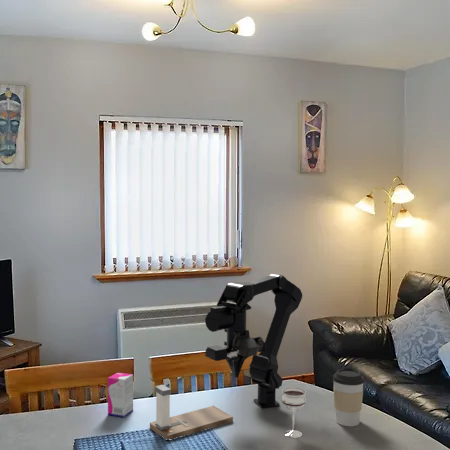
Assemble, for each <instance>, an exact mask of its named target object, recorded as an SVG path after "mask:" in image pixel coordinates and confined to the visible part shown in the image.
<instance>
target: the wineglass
mask: <svg viewBox="0 0 450 450" xmlns="http://www.w3.org/2000/svg"><path fill="white" fill-rule="evenodd" d="M281 392H282V395H281V402H282V404H283V406H284V407H285V408H286V409H287V410H289V411H290V412H291V413H292V414H291V417H292V418H291V419H292V421H291V423H292V429H287V430H285V431H284V433H283V434H284V436H286V437H288V438H293V439H295V438H296V439H297V438H301V437H302V435H303V433H302V432H301V431H300V430H297V429H295V421H296V420H295V418H296V417H295V416H296V412H297V411H300V410H301V409H302V408H303V407H304V406H306V403H307V398H306V393H307V391H306V390H305V389H303V388H299V387H285V388H283V389H282V390H281Z"/></svg>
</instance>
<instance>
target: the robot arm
mask: <svg viewBox="0 0 450 450" xmlns="http://www.w3.org/2000/svg"><path fill="white" fill-rule="evenodd" d="M269 291H271V293H272V294H273V295H274V301H273V302H274V305H275V310H274V314H273V317H272V320H271V323H270V326H269V329H268V331H267V334H266V337H265V341H264V338H262V336H256V337H254V336H253V337H251V336H250V331H249V329H247V311H249V310H251V309H252V306H251V305H250V304H248V303H250V302H251V301H252V300H253V299H254V297H256V296H258V295H261V294H264V293H267V292H269ZM302 300H303V292H302V290H301V289H300V287H298V286H297V285H296V284H294V283H293V282H291V281H290V280H288V278H286V276H284V275H282V274H276V273H271V274H269V275H267V276H264V277H260V278H258V279H257V278H256V279H254V280H251V281H248V282H238V281H237V282H229V283H226V285H225V288H224V289H223V292H222V293H221V296H220V297H219V299H218V301H217V304H216V306H212V307H210V312H207V314H206V315H205V321H204V322H205V326H206V329H207V330H208V331H210V332H211V333H214V332H219V331H222V330H224V332H225V333H226V340H225V341H223V346H225V347H222V346H220V345H212V346H207V347H206V349H205V351H204V353H205V354H204V355H205V357H206V358H208V359H210V360H213V361H214V362H220V361H223V360H226V362H227V364H228V366H229V369H230V371H231V374H232V375H233V378H235V379H237V378H239V375H240V373H241V370H242V368H243V364H244V362H245V361H246V360H247V358H249V357H251V356H252V358H251V362H250V364H249V365H248V367H249V369H248V373H249V375H250V378H251V383H252V384H257V398H253V402H254V403H255V404H256V405H258V407H260V408H261V409H265V408H271V407H272V408H273V407H279V406H280V405H281V404H280V402H278V400H277V399H276V398H277V397H276V396H277V395H276V393H277V391H276V389H277V390H278V389H280V387H282V385H283V378H282V377H281V375H280V374H279V373H278V371H279V363H278V353H279V350H280V347H281V345H282V341H283V339H284V336H285V332H286V329H287V327H288V324H289V321H290V317H291V315H292V314H293V313H294V312H295V311H296V310H297V309H298V308H299V306H300V304H301V302H302Z"/></svg>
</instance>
